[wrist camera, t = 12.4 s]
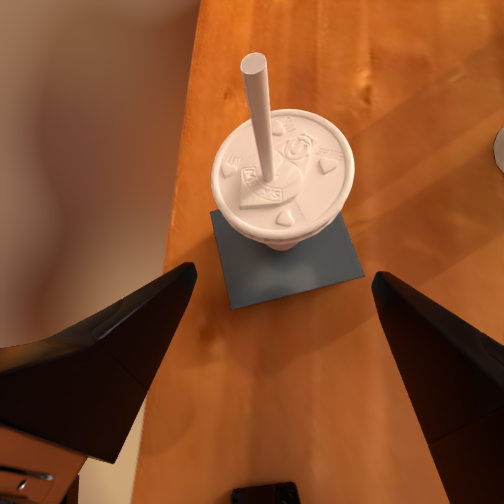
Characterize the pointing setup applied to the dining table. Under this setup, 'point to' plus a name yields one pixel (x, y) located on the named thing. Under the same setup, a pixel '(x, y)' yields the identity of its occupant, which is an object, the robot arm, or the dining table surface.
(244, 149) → the smoothie
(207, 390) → the dining table surface
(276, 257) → the grey footed stand
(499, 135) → the french press
